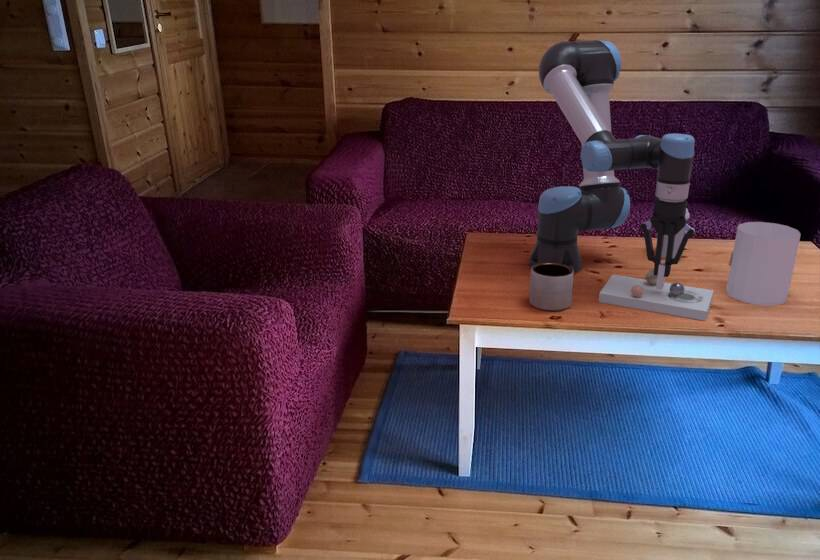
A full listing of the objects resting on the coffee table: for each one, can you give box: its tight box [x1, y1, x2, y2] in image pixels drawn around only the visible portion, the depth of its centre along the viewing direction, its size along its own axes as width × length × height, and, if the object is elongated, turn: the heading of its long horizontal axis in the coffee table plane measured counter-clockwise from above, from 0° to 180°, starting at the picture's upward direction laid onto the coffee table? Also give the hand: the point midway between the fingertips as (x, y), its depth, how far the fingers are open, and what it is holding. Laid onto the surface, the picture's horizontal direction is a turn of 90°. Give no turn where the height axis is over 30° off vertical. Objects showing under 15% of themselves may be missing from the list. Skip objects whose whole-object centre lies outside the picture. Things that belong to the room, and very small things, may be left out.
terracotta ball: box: [631, 285, 643, 297], centre depth 171 cm, size 3×3×3 cm
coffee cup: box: [656, 207, 691, 259], centre depth 205 cm, size 10×10×15 cm
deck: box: [598, 274, 715, 322], centre depth 175 cm, size 26×15×2 cm, turn 61°
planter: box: [528, 262, 575, 312], centre depth 173 cm, size 11×11×10 cm
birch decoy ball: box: [644, 268, 657, 284], centre depth 179 cm, size 4×4×4 cm
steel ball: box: [670, 282, 685, 296], centre depth 171 cm, size 4×4×4 cm
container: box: [725, 221, 801, 307], centre depth 175 cm, size 14×14×18 cm
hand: (659, 287), depth 174 cm, fingers closed
